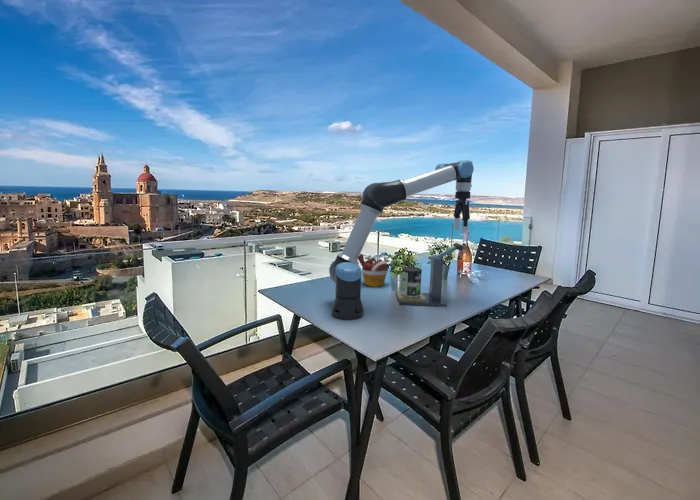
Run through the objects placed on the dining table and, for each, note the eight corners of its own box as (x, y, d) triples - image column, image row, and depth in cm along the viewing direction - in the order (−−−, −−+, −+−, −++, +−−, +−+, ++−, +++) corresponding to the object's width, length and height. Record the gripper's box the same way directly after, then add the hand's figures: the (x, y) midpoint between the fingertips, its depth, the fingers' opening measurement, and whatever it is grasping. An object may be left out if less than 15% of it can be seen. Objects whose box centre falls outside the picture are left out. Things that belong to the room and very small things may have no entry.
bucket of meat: (384, 280, 211) (385, 251, 208) (392, 287, 195) (394, 255, 192) (354, 281, 207) (355, 251, 204) (360, 289, 191) (361, 256, 188)
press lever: (434, 265, 171) (431, 258, 171) (431, 261, 179) (428, 255, 179) (464, 249, 169) (461, 243, 169) (460, 247, 177) (456, 241, 177)
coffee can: (423, 294, 174) (425, 268, 171) (415, 298, 166) (416, 272, 163) (406, 290, 180) (407, 266, 177) (397, 294, 172) (398, 269, 169)
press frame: (399, 305, 164) (401, 260, 160) (395, 294, 182) (397, 253, 178) (446, 306, 164) (449, 261, 160) (438, 295, 181) (441, 255, 177)
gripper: (478, 190, 156) (475, 234, 159) (462, 191, 180) (460, 229, 184) (463, 190, 156) (460, 233, 160) (449, 191, 181) (446, 228, 184)
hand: (460, 231), depth 172 cm, fingers open, 13 cm apart
